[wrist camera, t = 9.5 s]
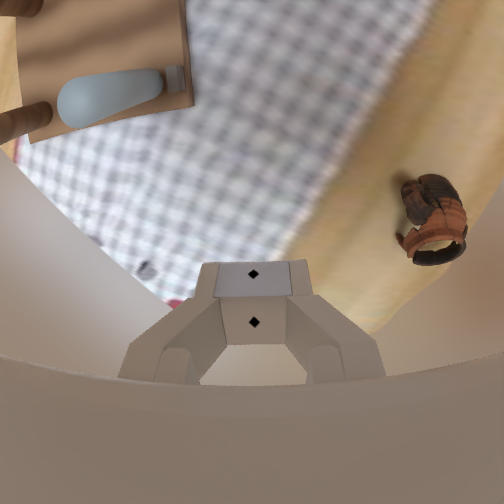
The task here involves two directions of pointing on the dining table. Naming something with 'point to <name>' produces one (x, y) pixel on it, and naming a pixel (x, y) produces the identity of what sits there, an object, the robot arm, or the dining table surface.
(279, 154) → the dining table surface
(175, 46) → the stool seat
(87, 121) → the hinged leg
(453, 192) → the pottery mug
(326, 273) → the dining table surface
